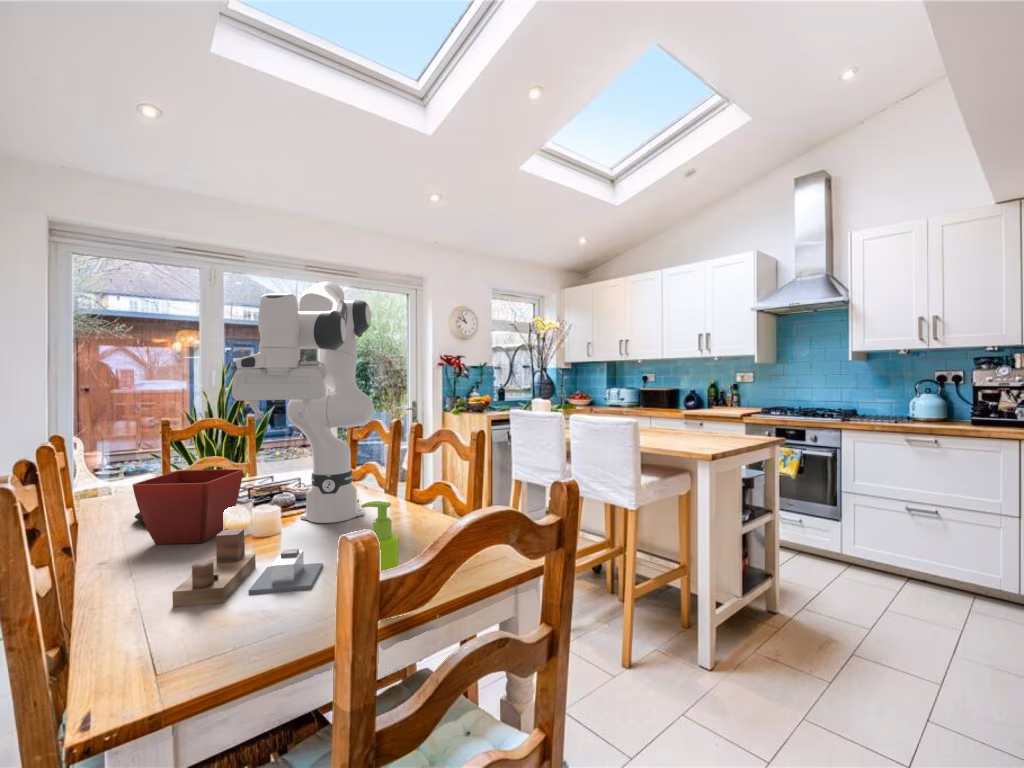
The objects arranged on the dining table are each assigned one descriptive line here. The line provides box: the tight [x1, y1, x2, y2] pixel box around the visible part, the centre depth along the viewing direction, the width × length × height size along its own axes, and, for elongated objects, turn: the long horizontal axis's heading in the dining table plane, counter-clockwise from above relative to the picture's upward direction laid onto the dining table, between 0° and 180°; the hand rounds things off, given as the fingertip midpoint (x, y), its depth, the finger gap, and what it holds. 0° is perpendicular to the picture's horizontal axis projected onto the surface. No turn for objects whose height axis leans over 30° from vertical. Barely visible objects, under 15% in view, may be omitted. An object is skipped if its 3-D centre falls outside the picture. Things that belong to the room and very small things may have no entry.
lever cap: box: [270, 548, 305, 584], centre depth 104 cm, size 8×4×5 cm, turn 10°
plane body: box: [172, 528, 257, 608], centre depth 102 cm, size 18×9×9 cm, turn 10°
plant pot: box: [132, 468, 244, 545], centre depth 133 cm, size 19×19×17 cm
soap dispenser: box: [361, 500, 400, 571], centre depth 92 cm, size 6×7×20 cm
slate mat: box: [248, 562, 324, 595], centre depth 104 cm, size 12×12×1 cm
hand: (280, 419), depth 114 cm, fingers open, 8 cm apart
